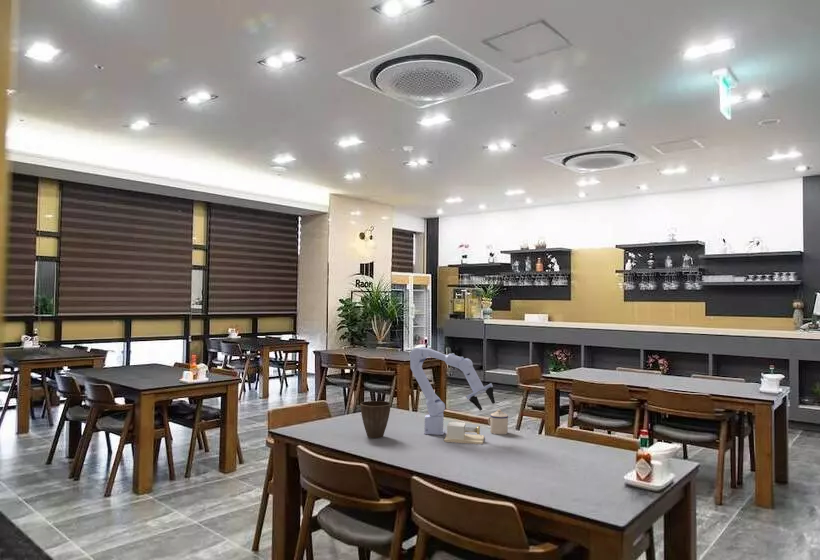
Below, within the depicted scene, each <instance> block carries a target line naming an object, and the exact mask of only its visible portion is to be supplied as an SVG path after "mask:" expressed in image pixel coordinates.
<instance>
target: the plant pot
mask: <svg viewBox="0 0 820 560" xmlns="http://www.w3.org/2000/svg"><path fill="white" fill-rule="evenodd" d="M359 404H360V412H361V419H362V423H363V426H364V430H365V434H366V436H367V437H368V438H370V439H381V438H383V437H384V434H385V431H386V428H387V425H388V421H389V419H390V417H389V416H390V413H391V406H392V403H391V402H389V401H385V400H384V401H382V400H381V401H380V400H370V401H368V400H367V401H362V402H360V403H359Z"/></svg>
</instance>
